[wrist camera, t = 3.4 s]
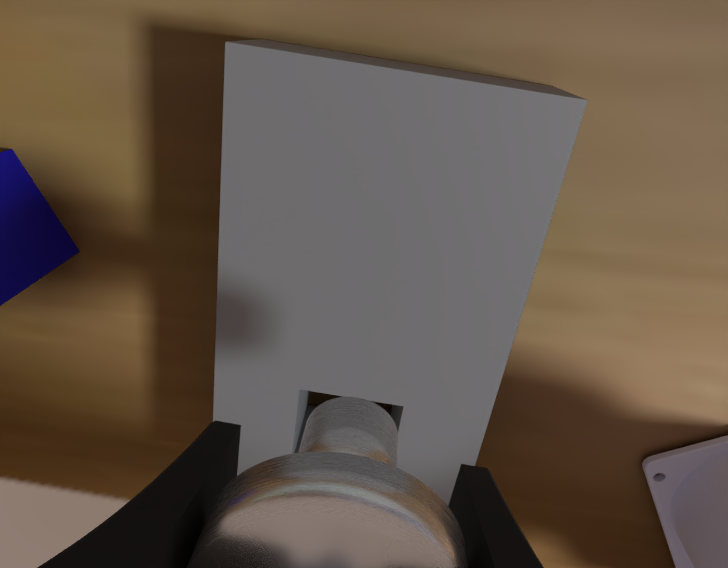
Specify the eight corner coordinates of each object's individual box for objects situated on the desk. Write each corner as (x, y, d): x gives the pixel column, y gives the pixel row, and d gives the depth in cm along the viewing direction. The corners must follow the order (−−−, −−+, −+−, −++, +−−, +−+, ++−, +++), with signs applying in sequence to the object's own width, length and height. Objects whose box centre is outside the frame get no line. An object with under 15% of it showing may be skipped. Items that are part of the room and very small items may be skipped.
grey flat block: (442, 479, 26) (448, 551, 23) (237, 445, 26) (209, 512, 23) (552, 86, 19) (587, 100, 15) (260, 38, 19) (225, 41, 15)
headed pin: (481, 481, 14) (513, 687, 10) (305, 527, 16) (264, 729, 11) (407, 320, 13) (406, 483, 8) (215, 386, 14) (120, 560, 9)
